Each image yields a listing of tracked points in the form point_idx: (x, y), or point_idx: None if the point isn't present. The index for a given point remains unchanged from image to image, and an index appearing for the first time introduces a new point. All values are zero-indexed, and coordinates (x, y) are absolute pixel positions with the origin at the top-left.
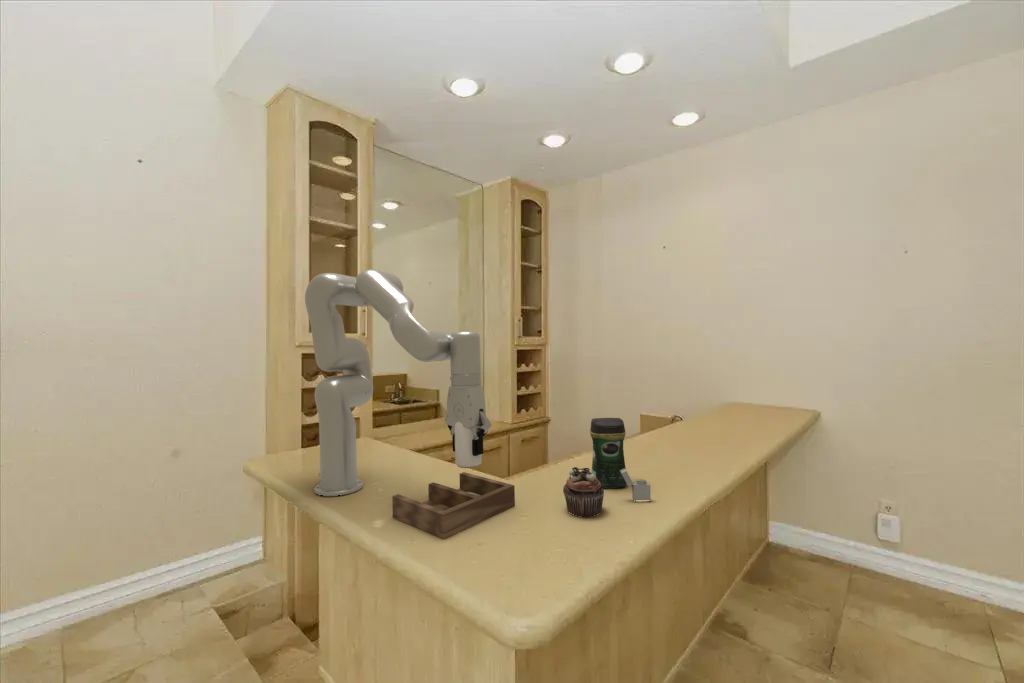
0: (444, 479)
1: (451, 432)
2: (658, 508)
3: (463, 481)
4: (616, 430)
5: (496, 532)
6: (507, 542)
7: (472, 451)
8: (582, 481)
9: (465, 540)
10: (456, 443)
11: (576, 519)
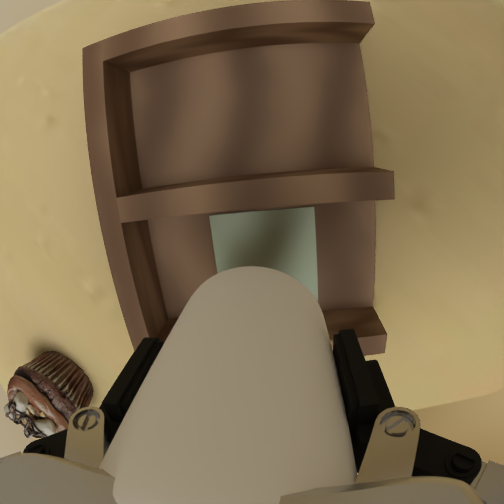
0: (473, 329)
1: (412, 428)
2: None
3: (360, 322)
4: None
5: (65, 184)
6: (27, 172)
7: (155, 352)
8: (12, 397)
9: (79, 102)
10: (254, 341)
11: (42, 339)
